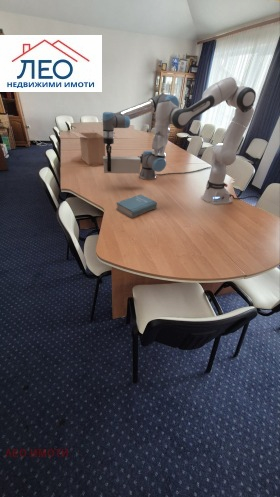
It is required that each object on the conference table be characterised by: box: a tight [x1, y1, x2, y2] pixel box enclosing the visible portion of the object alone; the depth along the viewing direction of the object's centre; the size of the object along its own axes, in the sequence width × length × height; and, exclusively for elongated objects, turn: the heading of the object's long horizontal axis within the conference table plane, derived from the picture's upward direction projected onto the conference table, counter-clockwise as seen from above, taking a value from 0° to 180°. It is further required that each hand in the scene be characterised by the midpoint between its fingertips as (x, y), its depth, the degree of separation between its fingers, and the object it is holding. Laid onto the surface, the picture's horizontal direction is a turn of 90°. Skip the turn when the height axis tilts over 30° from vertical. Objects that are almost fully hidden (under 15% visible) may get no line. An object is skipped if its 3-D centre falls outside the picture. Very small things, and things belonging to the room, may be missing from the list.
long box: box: [103, 155, 141, 175], centre depth 171 cm, size 28×6×11 cm, turn 98°
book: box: [115, 194, 158, 219], centre depth 150 cm, size 23×16×5 cm
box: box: [70, 129, 106, 166], centre depth 229 cm, size 44×36×27 cm
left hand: (109, 169), depth 172 cm, fingers closed on long box, 6 cm apart
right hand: (158, 154), depth 146 cm, fingers open, 8 cm apart
